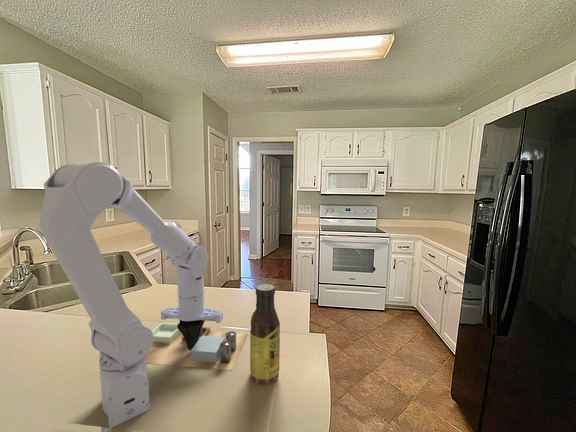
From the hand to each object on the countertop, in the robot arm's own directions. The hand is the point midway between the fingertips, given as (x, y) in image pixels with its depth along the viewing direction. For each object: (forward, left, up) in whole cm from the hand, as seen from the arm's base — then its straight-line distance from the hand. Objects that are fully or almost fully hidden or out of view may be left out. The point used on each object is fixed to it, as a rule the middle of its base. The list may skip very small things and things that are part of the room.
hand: (193, 347), depth 61 cm
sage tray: (+11, +3, -1) cm, 12 cm away
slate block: (-3, -3, -1) cm, 4 cm away
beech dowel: (+6, -3, -1) cm, 7 cm away
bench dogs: (-6, -6, -1) cm, 9 cm away
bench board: (+2, -1, -2) cm, 3 cm away
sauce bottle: (-17, -10, -2) cm, 19 cm away
